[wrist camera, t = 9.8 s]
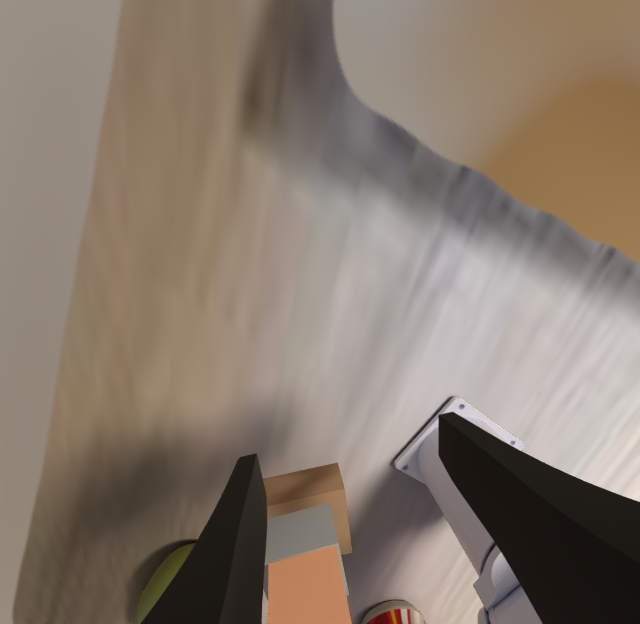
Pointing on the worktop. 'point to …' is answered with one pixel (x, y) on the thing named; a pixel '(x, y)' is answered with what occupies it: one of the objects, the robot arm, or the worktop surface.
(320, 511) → the slate block
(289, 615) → the terracotta cube
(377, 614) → the soda can
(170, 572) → the pear
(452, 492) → the robot arm
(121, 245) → the worktop surface
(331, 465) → the walnut base
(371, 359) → the worktop surface
